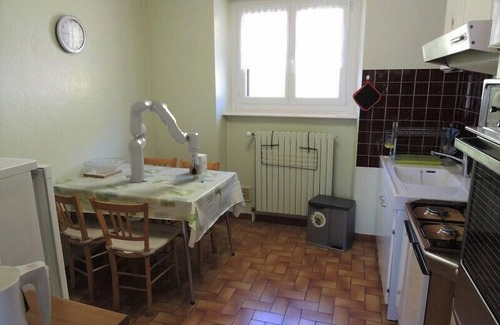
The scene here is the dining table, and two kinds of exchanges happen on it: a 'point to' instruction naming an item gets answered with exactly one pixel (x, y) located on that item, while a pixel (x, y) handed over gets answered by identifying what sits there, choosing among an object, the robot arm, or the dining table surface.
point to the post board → (189, 178)
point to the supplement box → (202, 162)
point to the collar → (196, 170)
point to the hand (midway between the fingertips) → (194, 172)
